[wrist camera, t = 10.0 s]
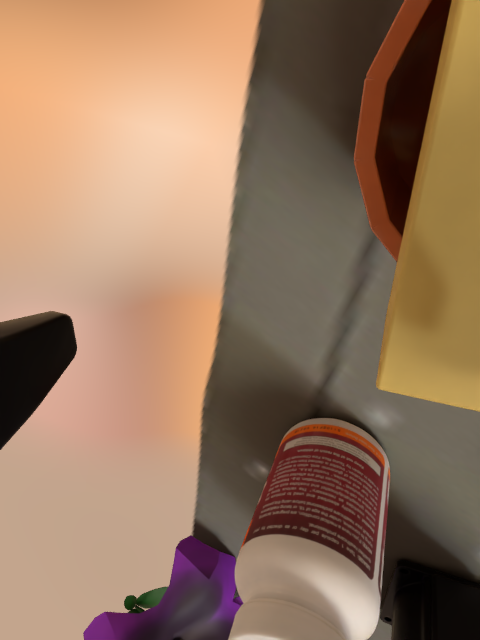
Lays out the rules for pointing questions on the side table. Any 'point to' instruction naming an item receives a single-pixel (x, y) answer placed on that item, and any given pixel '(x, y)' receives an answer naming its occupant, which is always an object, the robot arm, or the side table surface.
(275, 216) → the side table surface
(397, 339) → the packet
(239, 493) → the side table surface
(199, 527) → the side table surface
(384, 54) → the cup
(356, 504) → the pill bottle
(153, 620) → the flower
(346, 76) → the side table surface
